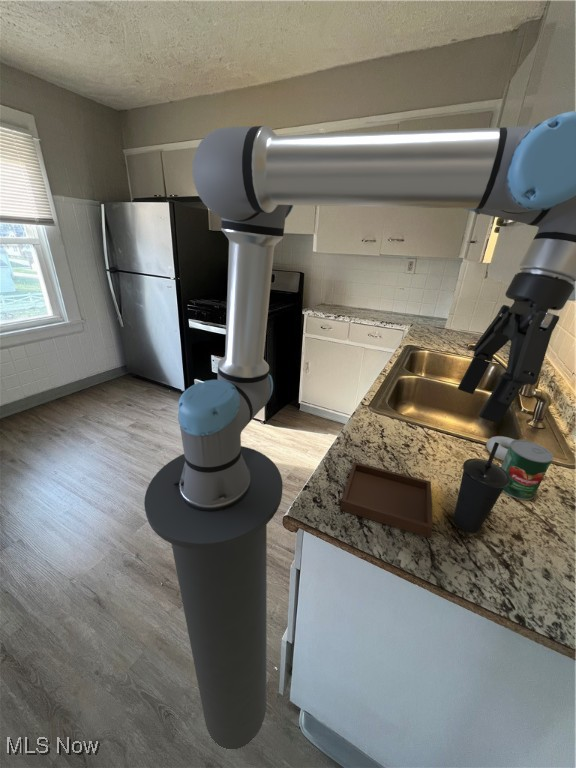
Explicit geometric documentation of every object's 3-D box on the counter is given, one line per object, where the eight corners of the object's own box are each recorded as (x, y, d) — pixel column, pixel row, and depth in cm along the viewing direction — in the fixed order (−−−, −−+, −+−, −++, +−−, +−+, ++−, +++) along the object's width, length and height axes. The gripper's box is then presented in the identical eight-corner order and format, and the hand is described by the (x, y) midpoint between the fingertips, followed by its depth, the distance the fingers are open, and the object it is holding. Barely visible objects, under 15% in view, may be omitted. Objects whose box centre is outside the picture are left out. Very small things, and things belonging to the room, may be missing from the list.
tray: (340, 510, 66) (341, 500, 65) (352, 470, 78) (353, 461, 77) (429, 538, 61) (432, 527, 60) (428, 490, 72) (430, 481, 71)
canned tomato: (510, 501, 70) (528, 462, 66) (487, 476, 77) (502, 439, 73) (543, 499, 71) (563, 461, 66) (517, 475, 78) (533, 439, 73)
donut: (530, 471, 80) (524, 450, 88) (535, 461, 78) (529, 440, 86) (485, 459, 84) (484, 439, 92) (489, 448, 82) (487, 429, 90)
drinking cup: (468, 506, 69) (497, 429, 60) (496, 535, 62) (533, 454, 53) (438, 511, 67) (463, 433, 58) (463, 542, 60) (495, 459, 52)
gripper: (640, 284, 34) (532, 447, 41) (533, 284, 57) (476, 388, 64) (566, 265, 35) (474, 426, 42) (490, 273, 58) (439, 376, 65)
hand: (475, 404), depth 53 cm, fingers open, 13 cm apart
